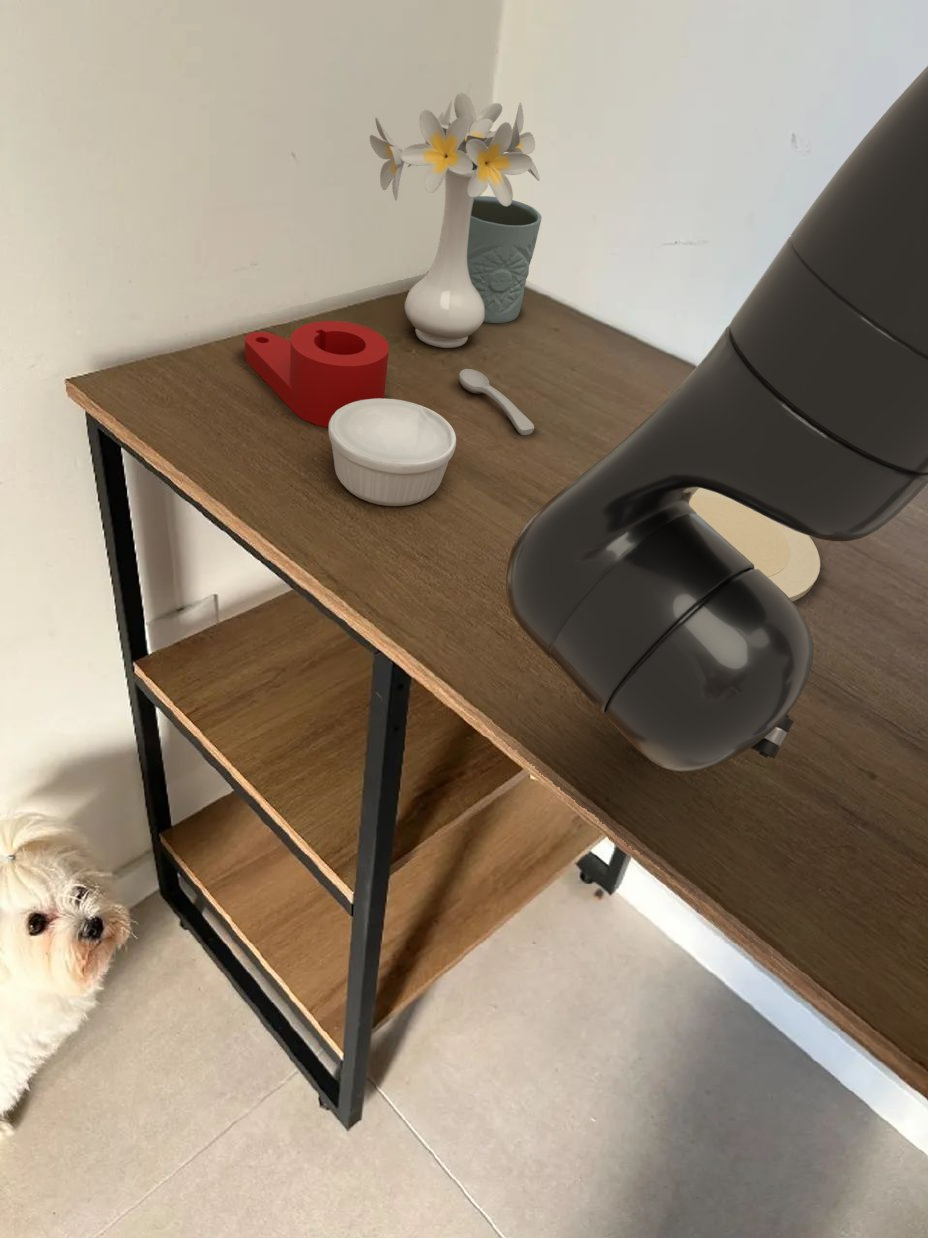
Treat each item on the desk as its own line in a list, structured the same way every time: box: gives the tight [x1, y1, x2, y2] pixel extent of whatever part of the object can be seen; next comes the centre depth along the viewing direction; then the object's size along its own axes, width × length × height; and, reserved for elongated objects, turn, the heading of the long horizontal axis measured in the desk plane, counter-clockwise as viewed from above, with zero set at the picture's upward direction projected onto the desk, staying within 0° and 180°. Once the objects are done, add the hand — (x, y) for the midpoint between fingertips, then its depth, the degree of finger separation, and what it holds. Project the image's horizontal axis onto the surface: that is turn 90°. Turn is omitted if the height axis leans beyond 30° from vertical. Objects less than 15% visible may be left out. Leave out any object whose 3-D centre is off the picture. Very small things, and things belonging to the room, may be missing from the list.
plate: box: [689, 488, 821, 603], centre depth 85 cm, size 18×18×1 cm
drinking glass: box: [467, 195, 542, 324], centre depth 113 cm, size 10×10×12 cm
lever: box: [244, 320, 390, 429], centre depth 94 cm, size 18×9×7 cm, turn 49°
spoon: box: [458, 368, 535, 436], centre depth 98 cm, size 3×12×2 cm, turn 35°
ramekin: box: [328, 398, 457, 507], centre depth 84 cm, size 11×11×5 cm
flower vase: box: [369, 92, 541, 349], centre depth 100 cm, size 13×18×25 cm
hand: (690, 702), depth 63 cm, fingers closed
